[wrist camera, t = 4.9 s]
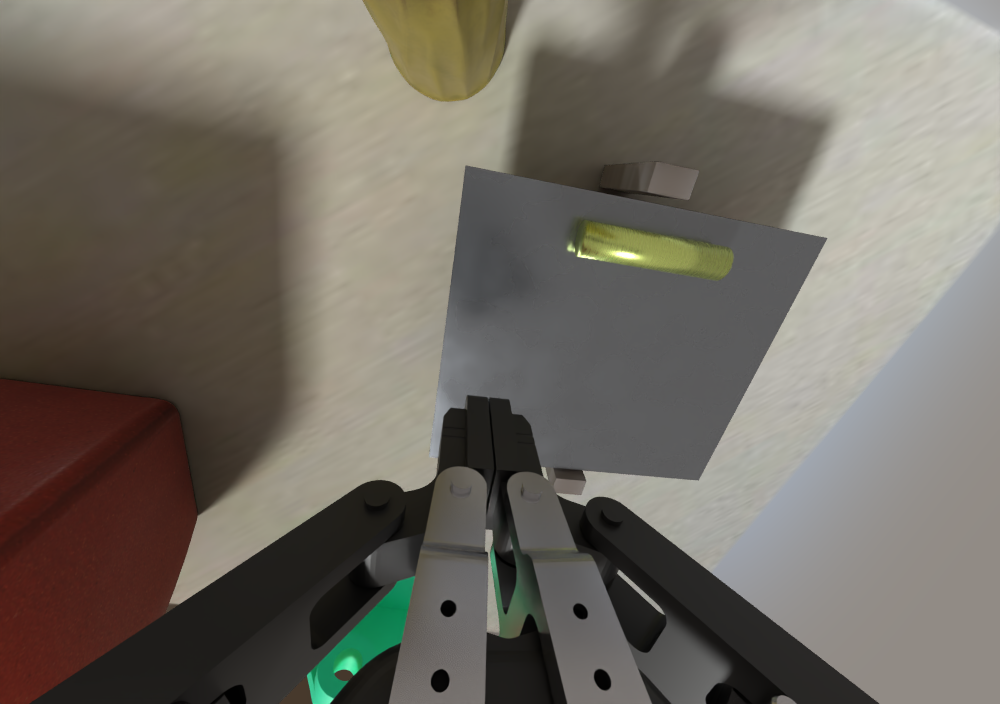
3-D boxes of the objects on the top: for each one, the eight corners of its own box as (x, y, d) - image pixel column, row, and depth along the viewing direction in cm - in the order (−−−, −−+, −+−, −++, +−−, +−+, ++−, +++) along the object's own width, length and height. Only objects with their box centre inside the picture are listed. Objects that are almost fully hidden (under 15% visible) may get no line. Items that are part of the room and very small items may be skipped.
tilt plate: (430, 446, 23) (426, 476, 21) (465, 165, 17) (465, 164, 14) (690, 469, 26) (712, 499, 24) (810, 235, 19) (857, 243, 17)
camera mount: (444, 547, 36) (434, 676, 27) (424, 595, 39) (409, 726, 30) (315, 525, 34) (255, 658, 24) (305, 577, 37) (248, 714, 27)
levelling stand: (461, 417, 29) (458, 484, 23) (506, 144, 21) (519, 131, 15) (627, 436, 31) (666, 502, 25) (725, 190, 23) (819, 196, 17)
